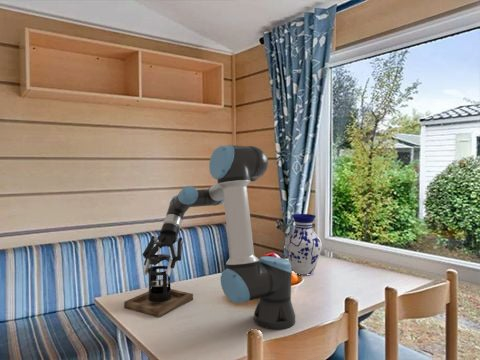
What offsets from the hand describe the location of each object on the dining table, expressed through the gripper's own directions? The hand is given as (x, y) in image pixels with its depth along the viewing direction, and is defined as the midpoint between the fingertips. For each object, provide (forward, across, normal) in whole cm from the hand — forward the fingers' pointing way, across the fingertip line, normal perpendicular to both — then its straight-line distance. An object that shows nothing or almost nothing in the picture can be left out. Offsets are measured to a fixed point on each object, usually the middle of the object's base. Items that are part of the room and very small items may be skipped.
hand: (156, 274), depth 154 cm
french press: (+5, 0, -10) cm, 11 cm away
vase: (-33, -55, -52) cm, 83 cm away
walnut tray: (+7, 0, -12) cm, 14 cm away
